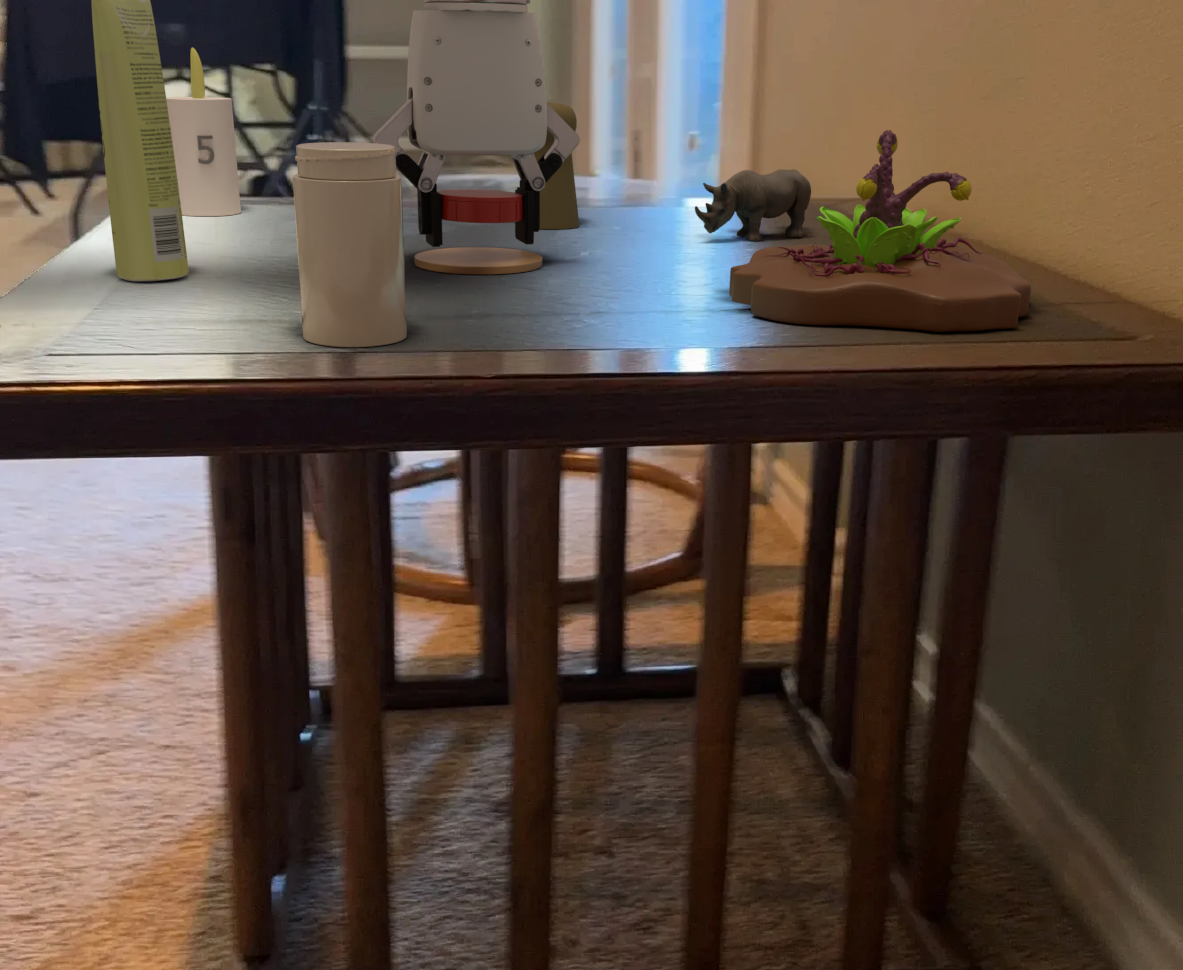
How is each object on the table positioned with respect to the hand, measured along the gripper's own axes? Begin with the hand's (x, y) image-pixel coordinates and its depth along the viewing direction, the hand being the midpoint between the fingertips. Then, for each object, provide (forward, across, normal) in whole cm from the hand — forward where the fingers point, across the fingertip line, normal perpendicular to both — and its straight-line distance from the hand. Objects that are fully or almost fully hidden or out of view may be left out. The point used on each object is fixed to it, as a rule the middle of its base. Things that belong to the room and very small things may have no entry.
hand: (479, 241), depth 101 cm
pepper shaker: (+2, -12, -22) cm, 25 cm away
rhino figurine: (+2, -28, -11) cm, 30 cm away
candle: (+2, +19, -36) cm, 41 cm away
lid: (-3, 0, 0) cm, 3 cm away
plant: (+2, -23, +21) cm, 31 cm away
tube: (+2, +24, +2) cm, 25 cm away
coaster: (+2, 0, 0) cm, 2 cm away
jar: (+2, +13, +25) cm, 28 cm away
